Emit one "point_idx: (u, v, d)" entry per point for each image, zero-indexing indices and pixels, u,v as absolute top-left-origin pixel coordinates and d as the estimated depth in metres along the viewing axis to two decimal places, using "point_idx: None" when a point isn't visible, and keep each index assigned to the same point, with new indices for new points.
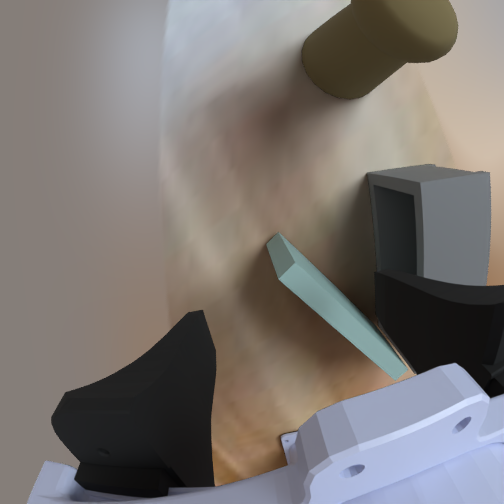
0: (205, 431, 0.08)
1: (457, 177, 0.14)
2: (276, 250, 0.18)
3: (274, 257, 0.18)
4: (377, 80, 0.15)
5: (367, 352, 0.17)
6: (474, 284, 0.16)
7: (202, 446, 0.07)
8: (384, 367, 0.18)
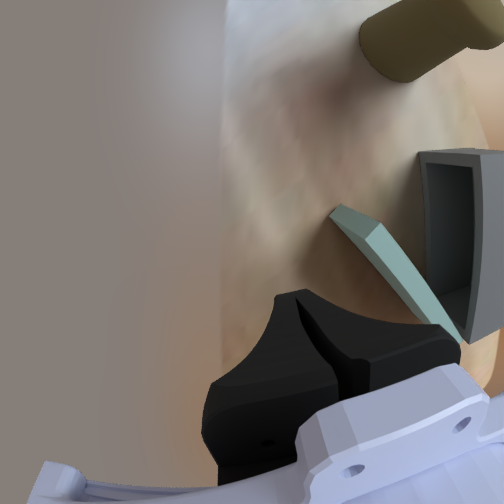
0: None
1: None
2: (347, 218, 0.17)
3: (348, 224, 0.17)
4: (433, 64, 0.14)
5: (433, 320, 0.16)
6: None
7: None
8: None
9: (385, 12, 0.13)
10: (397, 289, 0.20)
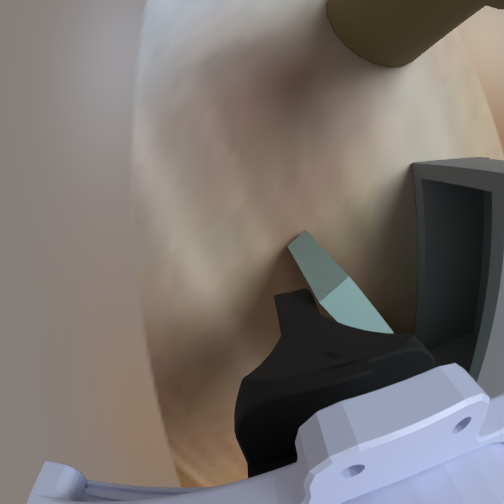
0: None
1: None
2: (307, 255, 0.12)
3: (305, 265, 0.12)
4: (431, 37, 0.09)
5: None
6: None
7: None
8: None
9: None
10: None
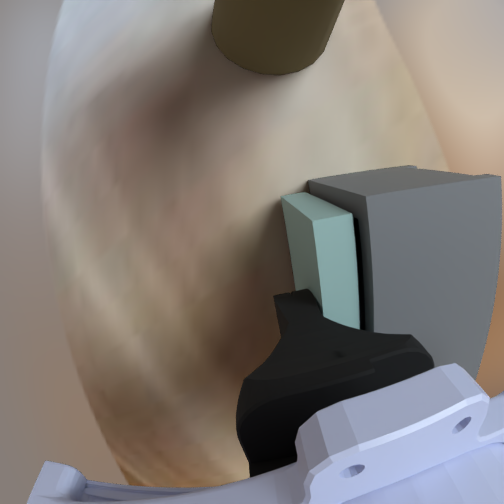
0: None
1: (443, 185, 0.08)
2: (303, 201, 0.12)
3: (299, 205, 0.11)
4: (303, 34, 0.09)
5: None
6: (465, 354, 0.10)
7: None
8: None
9: None
10: None
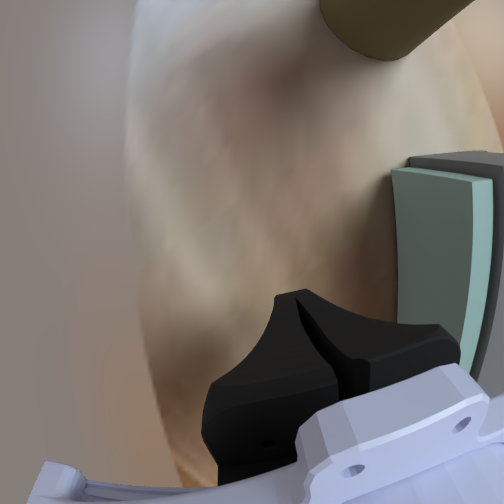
0: None
1: None
2: (427, 171, 0.11)
3: (431, 173, 0.11)
4: (426, 29, 0.08)
5: None
6: None
7: None
8: None
9: None
10: (418, 307, 0.14)
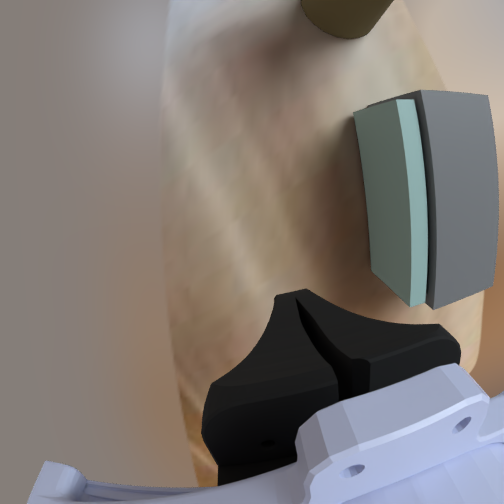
0: None
1: (456, 92, 0.12)
2: None
3: None
4: (372, 13, 0.13)
5: (413, 241, 0.15)
6: (487, 208, 0.14)
7: None
8: (413, 277, 0.16)
9: None
10: (380, 211, 0.18)
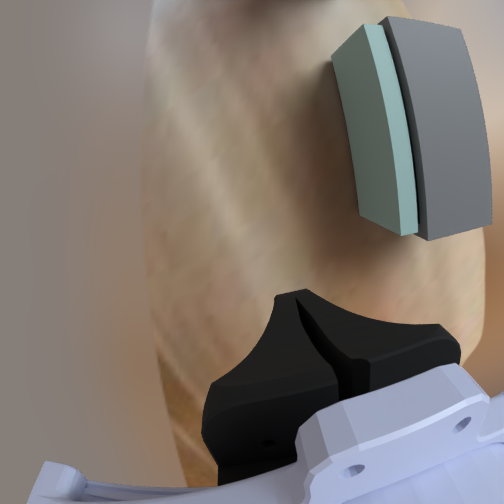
0: None
1: (426, 22, 0.11)
2: None
3: None
4: None
5: (396, 159, 0.14)
6: (474, 134, 0.13)
7: None
8: (401, 200, 0.15)
9: None
10: (362, 143, 0.17)
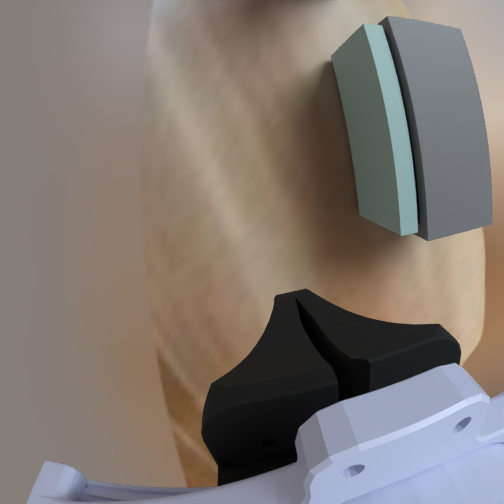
0: None
1: (426, 22, 0.11)
2: None
3: None
4: None
5: (396, 159, 0.14)
6: (474, 134, 0.13)
7: None
8: (401, 200, 0.15)
9: None
10: (362, 143, 0.17)
